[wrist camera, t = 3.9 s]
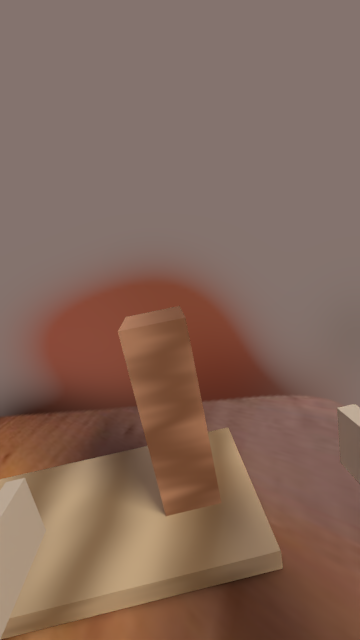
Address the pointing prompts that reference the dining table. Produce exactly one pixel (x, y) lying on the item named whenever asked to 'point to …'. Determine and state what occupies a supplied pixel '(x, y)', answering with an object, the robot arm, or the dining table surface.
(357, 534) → the dining table surface
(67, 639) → the dining table surface
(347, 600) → the dining table surface
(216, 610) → the dining table surface
